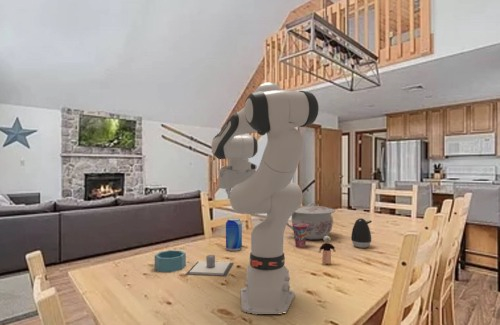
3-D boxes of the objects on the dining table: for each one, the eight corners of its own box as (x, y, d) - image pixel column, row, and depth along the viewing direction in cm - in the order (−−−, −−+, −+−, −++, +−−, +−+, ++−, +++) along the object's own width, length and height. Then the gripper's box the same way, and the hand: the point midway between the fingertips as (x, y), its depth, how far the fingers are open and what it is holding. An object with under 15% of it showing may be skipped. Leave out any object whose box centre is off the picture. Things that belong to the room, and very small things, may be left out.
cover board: (223, 275, 127) (223, 261, 127) (189, 273, 129) (189, 260, 129) (230, 263, 141) (230, 251, 141) (199, 262, 143) (199, 251, 143)
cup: (301, 249, 164) (301, 226, 164) (289, 246, 170) (289, 224, 170) (312, 246, 170) (312, 224, 170) (300, 243, 176) (300, 222, 176)
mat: (226, 277, 125) (226, 276, 125) (184, 276, 127) (184, 274, 127) (234, 264, 142) (234, 262, 142) (197, 262, 144) (197, 261, 144)
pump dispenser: (372, 250, 162) (372, 220, 162) (351, 248, 165) (350, 219, 165) (371, 245, 172) (371, 217, 172) (351, 243, 175) (351, 216, 175)
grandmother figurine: (321, 266, 138) (321, 237, 138) (317, 263, 142) (317, 235, 142) (337, 264, 140) (337, 236, 140) (333, 262, 144) (332, 234, 144)
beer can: (222, 250, 164) (222, 219, 164) (231, 246, 171) (231, 217, 171) (236, 252, 160) (236, 220, 160) (244, 248, 168) (244, 218, 168)
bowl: (178, 273, 130) (178, 259, 130) (150, 272, 132) (150, 258, 132) (188, 264, 142) (188, 250, 142) (162, 263, 144) (162, 250, 144)
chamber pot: (341, 235, 196) (340, 201, 196) (327, 245, 172) (327, 207, 172) (298, 230, 210) (298, 199, 210) (281, 239, 186) (280, 204, 186)
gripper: (225, 166, 127) (225, 200, 127) (259, 165, 142) (259, 196, 142) (215, 166, 132) (215, 199, 132) (249, 165, 146) (249, 195, 147)
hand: (238, 197), depth 137 cm, fingers open, 8 cm apart
